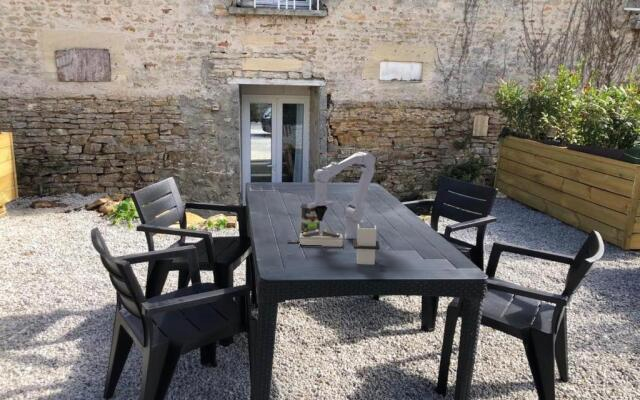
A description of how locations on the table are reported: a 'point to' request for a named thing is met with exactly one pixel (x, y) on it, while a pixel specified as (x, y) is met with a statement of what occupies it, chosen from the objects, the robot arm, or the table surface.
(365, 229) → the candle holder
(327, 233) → the rocker
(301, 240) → the rocker switch box
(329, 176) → the robot arm
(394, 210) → the table surface
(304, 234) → the rocker
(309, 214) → the coffee can
